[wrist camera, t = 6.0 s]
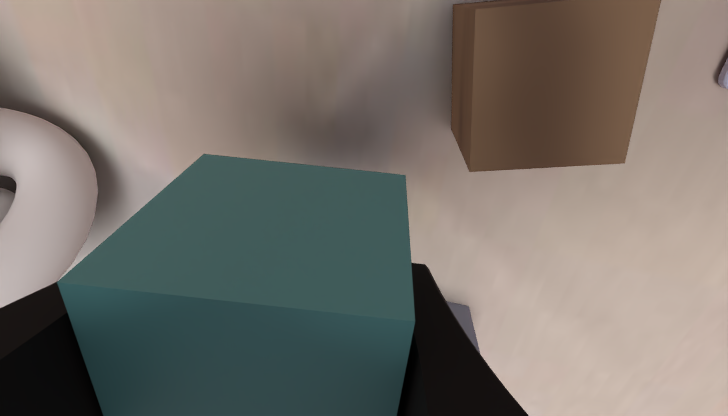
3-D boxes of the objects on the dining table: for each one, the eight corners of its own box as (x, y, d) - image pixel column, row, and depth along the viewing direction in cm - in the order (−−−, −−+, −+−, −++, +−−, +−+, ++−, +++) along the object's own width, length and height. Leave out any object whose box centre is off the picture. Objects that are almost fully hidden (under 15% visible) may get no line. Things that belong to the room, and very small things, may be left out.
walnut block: (586, -9, 15) (662, -8, 11) (566, 120, 18) (624, 163, 13) (452, 4, 16) (475, 9, 12) (451, 128, 18) (469, 171, 14)
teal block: (405, 175, 10) (415, 321, 6) (383, 325, 12) (377, 510, 8) (204, 154, 10) (56, 282, 6) (220, 307, 12) (126, 481, 8)
